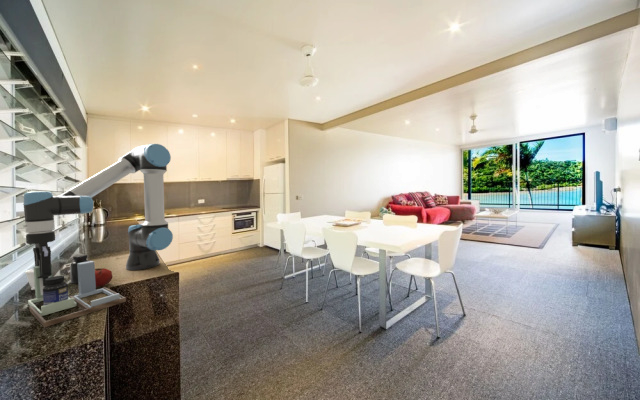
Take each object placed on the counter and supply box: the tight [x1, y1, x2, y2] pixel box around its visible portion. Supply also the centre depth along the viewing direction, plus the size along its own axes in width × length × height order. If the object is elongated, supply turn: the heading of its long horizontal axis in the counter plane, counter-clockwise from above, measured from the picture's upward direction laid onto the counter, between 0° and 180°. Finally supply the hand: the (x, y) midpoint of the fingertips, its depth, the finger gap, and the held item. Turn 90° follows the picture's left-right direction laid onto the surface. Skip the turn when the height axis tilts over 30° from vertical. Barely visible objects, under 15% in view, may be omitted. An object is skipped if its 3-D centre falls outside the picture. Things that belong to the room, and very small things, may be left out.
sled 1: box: [27, 264, 78, 317], centre depth 94 cm, size 9×21×13 cm, turn 57°
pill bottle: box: [42, 275, 69, 306], centre depth 91 cm, size 6×6×11 cm
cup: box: [25, 268, 35, 291], centre depth 113 cm, size 7×10×8 cm
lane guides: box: [29, 286, 127, 328], centre depth 93 cm, size 21×20×2 cm
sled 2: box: [72, 260, 121, 308], centre depth 98 cm, size 9×21×13 cm, turn 57°
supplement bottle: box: [69, 253, 90, 284], centre depth 119 cm, size 7×7×12 cm
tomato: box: [95, 267, 113, 288], centre depth 112 cm, size 9×9×8 cm
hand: (44, 292), depth 99 cm, fingers closed on sled 1, 3 cm apart
